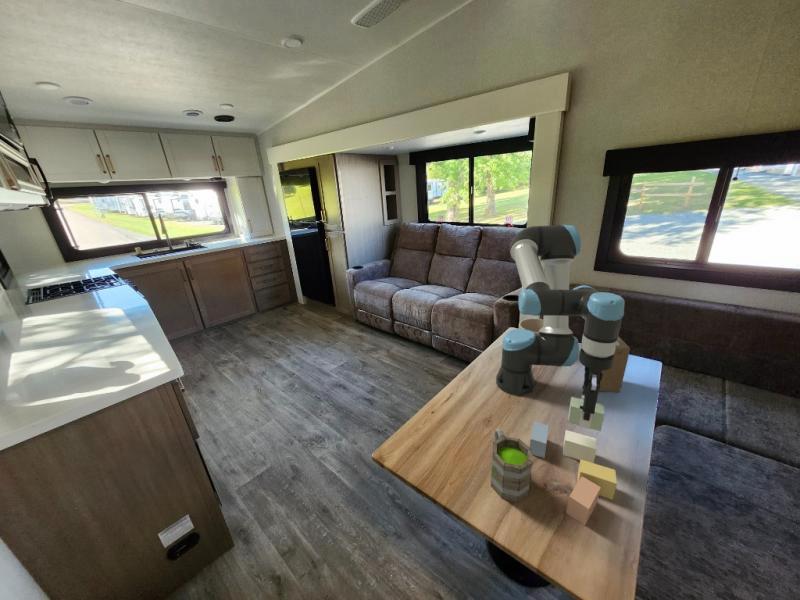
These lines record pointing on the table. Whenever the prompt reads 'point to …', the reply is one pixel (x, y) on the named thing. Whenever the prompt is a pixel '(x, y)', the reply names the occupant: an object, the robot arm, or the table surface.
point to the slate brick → (539, 439)
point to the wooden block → (616, 369)
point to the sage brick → (576, 412)
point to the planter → (532, 325)
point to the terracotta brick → (583, 500)
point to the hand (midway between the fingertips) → (584, 420)
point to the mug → (511, 467)
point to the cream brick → (579, 446)
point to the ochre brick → (599, 477)
